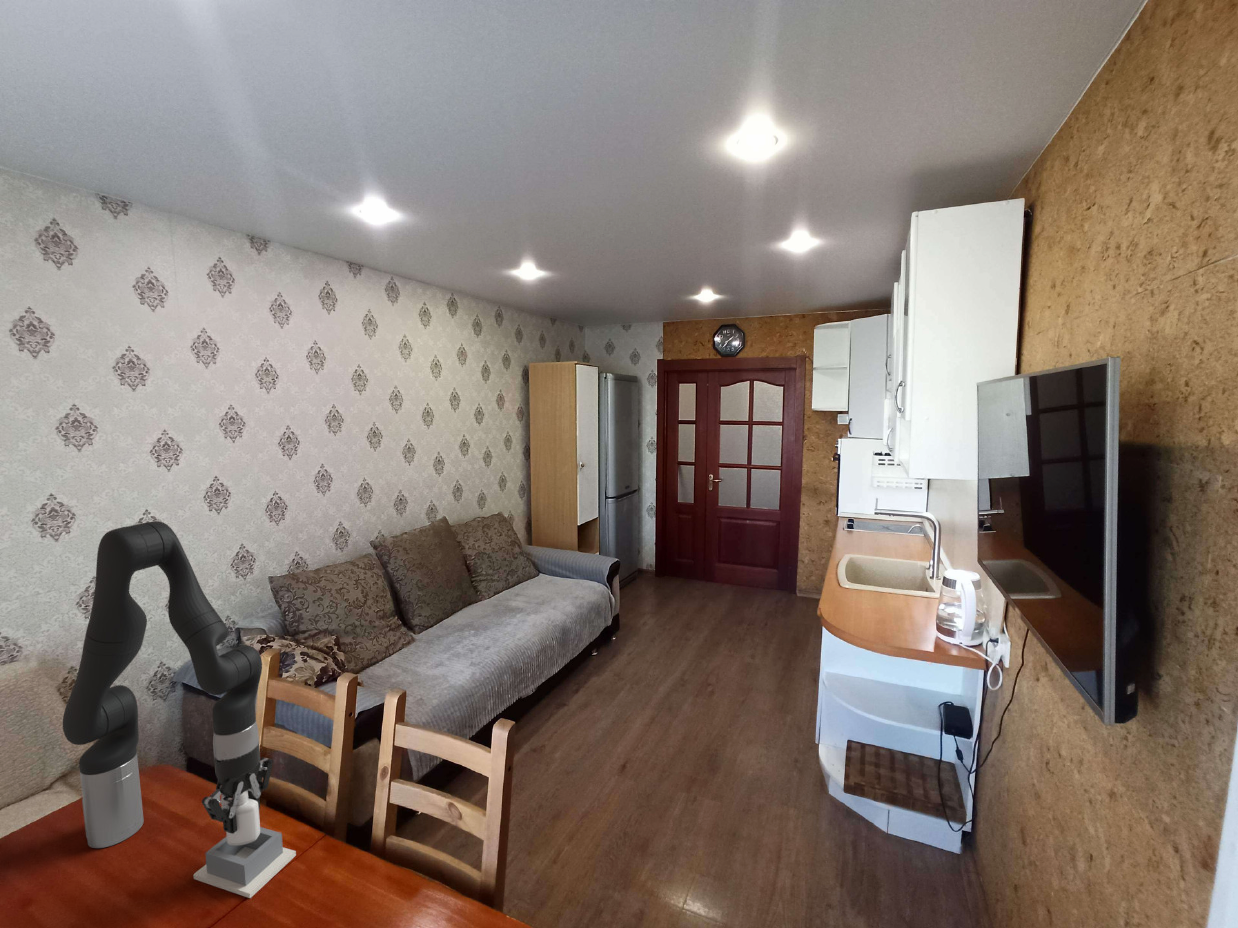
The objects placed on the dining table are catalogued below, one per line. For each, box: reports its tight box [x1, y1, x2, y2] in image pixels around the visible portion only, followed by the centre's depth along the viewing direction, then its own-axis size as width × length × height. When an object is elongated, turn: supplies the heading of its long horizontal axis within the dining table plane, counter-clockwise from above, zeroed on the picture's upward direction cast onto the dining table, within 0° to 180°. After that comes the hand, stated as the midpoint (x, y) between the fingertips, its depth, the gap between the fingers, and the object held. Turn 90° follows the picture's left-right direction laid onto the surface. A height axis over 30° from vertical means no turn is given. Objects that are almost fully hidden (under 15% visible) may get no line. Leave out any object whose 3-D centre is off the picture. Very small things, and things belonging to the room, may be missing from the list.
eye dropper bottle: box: [225, 790, 261, 846], centre depth 110 cm, size 4×6×12 cm
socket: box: [193, 826, 297, 899], centre depth 112 cm, size 15×10×6 cm
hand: (242, 822), depth 111 cm, fingers closed on eye dropper bottle, 4 cm apart
